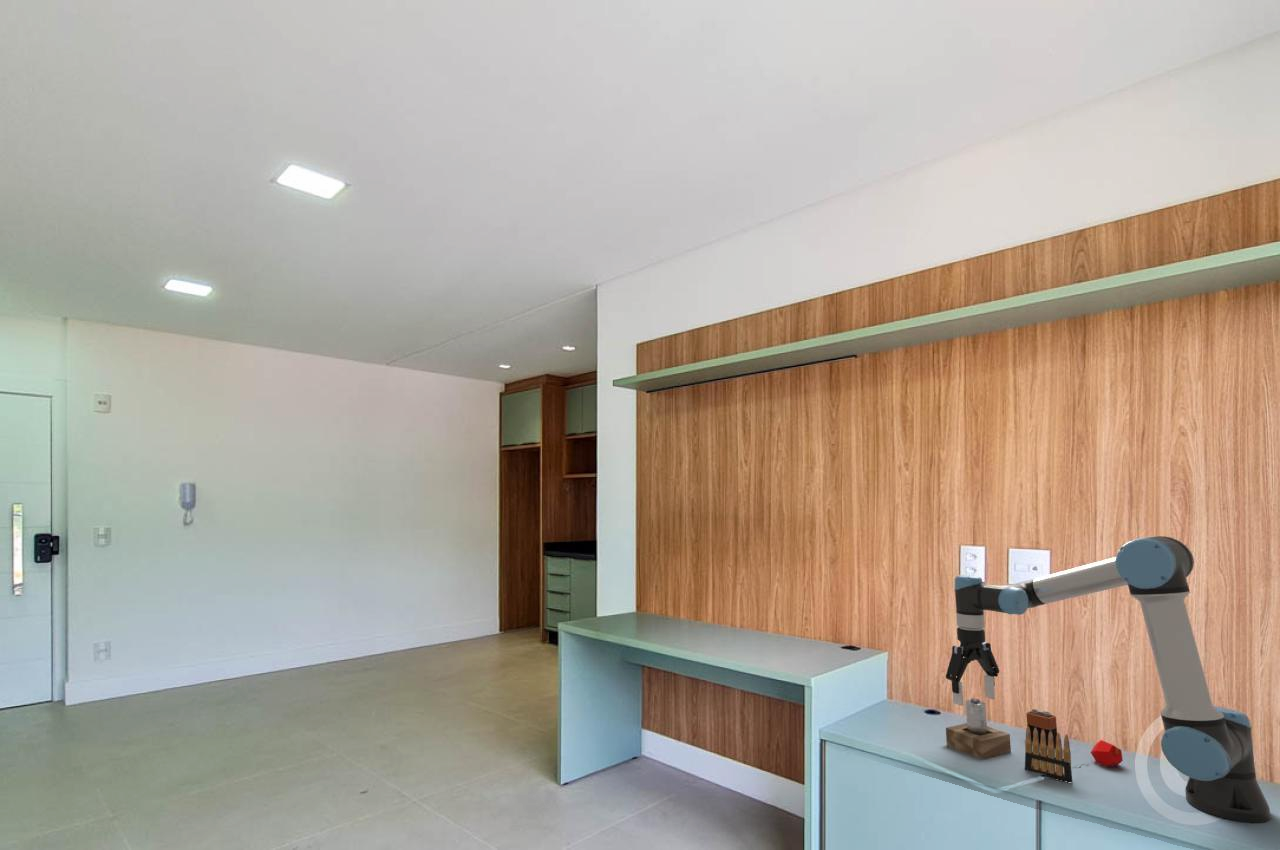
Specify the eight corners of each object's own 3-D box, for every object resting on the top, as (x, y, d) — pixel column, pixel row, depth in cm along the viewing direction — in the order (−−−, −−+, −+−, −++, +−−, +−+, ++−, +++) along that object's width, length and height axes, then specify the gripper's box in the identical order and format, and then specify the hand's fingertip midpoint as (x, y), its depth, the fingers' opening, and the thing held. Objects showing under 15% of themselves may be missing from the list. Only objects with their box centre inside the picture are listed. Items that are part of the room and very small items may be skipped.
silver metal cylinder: (992, 750, 191) (989, 701, 193) (980, 753, 189) (977, 703, 191) (976, 744, 196) (973, 696, 198) (964, 747, 194) (961, 698, 195)
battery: (1051, 750, 193) (1048, 715, 194) (1027, 743, 199) (1025, 709, 200) (1059, 747, 196) (1056, 712, 197) (1035, 740, 201) (1032, 706, 202)
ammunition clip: (1024, 771, 177) (1023, 726, 178) (1025, 769, 179) (1024, 724, 180) (1071, 783, 171) (1070, 736, 172) (1072, 780, 172) (1071, 734, 173)
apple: (1081, 739, 188) (1104, 737, 181) (1102, 742, 189) (1125, 740, 182) (1087, 766, 184) (1110, 765, 177) (1108, 769, 185) (1132, 768, 178)
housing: (1011, 755, 190) (1009, 734, 190) (983, 763, 185) (981, 740, 185) (974, 742, 200) (973, 721, 201) (946, 748, 195) (945, 727, 196)
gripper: (987, 622, 205) (991, 692, 203) (930, 629, 195) (933, 703, 192) (1009, 626, 198) (1014, 699, 196) (952, 634, 188) (955, 710, 186)
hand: (974, 701), depth 194 cm, fingers open, 13 cm apart
